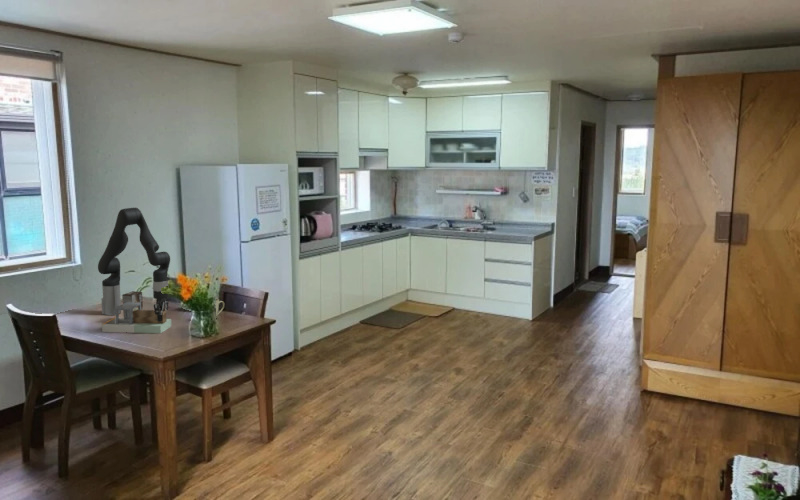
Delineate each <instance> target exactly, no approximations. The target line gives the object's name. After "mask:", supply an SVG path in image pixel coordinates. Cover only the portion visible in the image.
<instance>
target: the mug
mask: <svg viewBox="0 0 800 500" xmlns="http://www.w3.org/2000/svg"><path fill="white" fill-rule="evenodd" d="M215 298H216V297H215ZM220 303H222V307H221V309H220V310H219V308H220V307H219V305H220ZM215 305H216V316H217V317H218V315H219V314H220V313H221V312H223V310H224V308H225V302H224V301H222V300H220V299H219V298H216V303H215Z"/></svg>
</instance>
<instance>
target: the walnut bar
mask: <svg viewBox="0 0 800 500" xmlns="http://www.w3.org/2000/svg"><path fill="white" fill-rule="evenodd" d="M166 319H167V311H163V310H162V321H161V322H158V318H157V314H155V311H154V309H150V310H149V309H143V310H135V311H134V312H133V321H134V323H161V324H163V323H165V322H166Z"/></svg>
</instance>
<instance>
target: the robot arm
mask: <svg viewBox="0 0 800 500" xmlns="http://www.w3.org/2000/svg"><path fill="white" fill-rule="evenodd" d="M133 225H137V226H138V228H139V242H140V244H141V246H142V248H143V249H144V250H145V252H146V256H147V259H148V262H149V264H150V266H154V267H158V266H159V267H158V268H156V269H155V270H153V272H152V278H153V282H152V297H153V299H155V300H156V302H155V304H153V310H154V311H155V314H157V318H158V322H161V321H162V310H163V311H166V312H167V311H168V309H169V299H168V298H169V296H170V295H169V293H168V294H162V293H161V288H163V287H166V286H168V287H169V280H168V272H169V267H170V264H171V256H170V254H169V252H167V251H158V250H159V249H160V245H159V244H158V241H156V238H155V237H154V236H153V234H152V233H151V230H150V228H149V226H148V224H147V222H146V219H145V217H144V215H143V213H142V211H141V210H140V209H139V208H138V207H127V208H122V209H120V210H119V212H118V213H117V216H116V221H115V225H114V227H113V231H112V233H111V236H109V241H108V243H107V245H106V248H105V250H104V252H103V253H102V255H101V257H100V259H99V261H98V264H97V271H98V272H99V274H101V275H109V276H107V278H105V279H103V280H102V281H101V282H102V283H101V284H102V288H101V289H102V298H101V314H102V315H104V316H116V312H115V308H116V307H118V306H120V305H122V303H121V262H120V260H119V258H118V256H119V255H120V254H121V253H122V252H124V250H125V249H126V247H127V245H128V242H129V237H128V235H127V233H126V231H125V230H126V228H127V227H128V226H133ZM121 313H122V310H118V315H120V314H121Z"/></svg>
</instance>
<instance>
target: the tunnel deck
mask: <svg viewBox="0 0 800 500" xmlns="http://www.w3.org/2000/svg"><path fill="white" fill-rule="evenodd" d="M137 306H138V310H141V303H135V302H126V303H124V304H123V303H121V305H120V306H118V307H116V308H115V312H116V315H115V317H113V318H110V319H109V320H107V321H105V322H103V323H102V324H101V330H102V331H101V332H102V333H126V332H127V333H130V334H131V333H132V334H133V333H135V334H162V333H163V332H165V331H167V330H168V329H170V328H171V327H172V319H171V318H166V322H165V323H163V324H161V323H134V321H133V317H132V312H131V310H132V309H133V308H135V307H137ZM118 310H121V311H123V310H126V317H124V316H123V317H119V315H120V314H118ZM128 310H129V316H128Z"/></svg>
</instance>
